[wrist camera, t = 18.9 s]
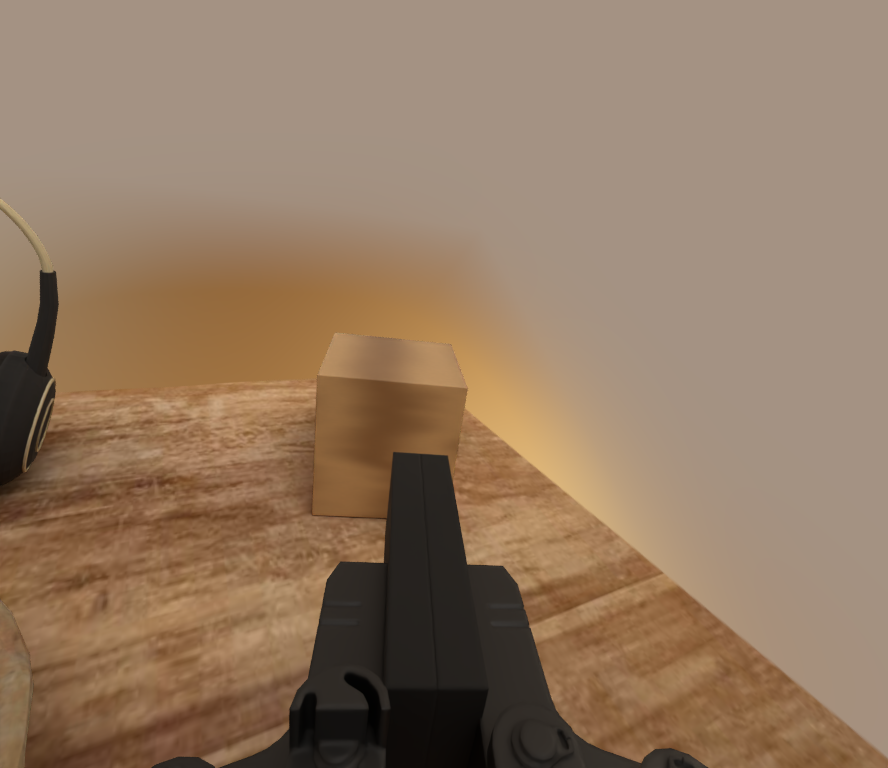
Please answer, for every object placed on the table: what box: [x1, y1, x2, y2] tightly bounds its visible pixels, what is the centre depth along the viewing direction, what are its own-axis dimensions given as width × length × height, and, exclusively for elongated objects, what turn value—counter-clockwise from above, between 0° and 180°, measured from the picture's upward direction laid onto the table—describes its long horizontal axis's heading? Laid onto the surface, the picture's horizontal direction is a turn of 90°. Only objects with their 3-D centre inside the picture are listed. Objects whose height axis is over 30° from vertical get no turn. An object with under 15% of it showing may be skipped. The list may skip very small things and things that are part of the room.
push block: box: [312, 333, 468, 518], centre depth 34 cm, size 9×9×10 cm
